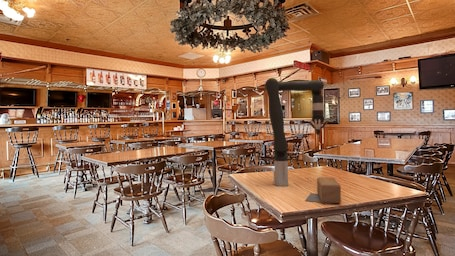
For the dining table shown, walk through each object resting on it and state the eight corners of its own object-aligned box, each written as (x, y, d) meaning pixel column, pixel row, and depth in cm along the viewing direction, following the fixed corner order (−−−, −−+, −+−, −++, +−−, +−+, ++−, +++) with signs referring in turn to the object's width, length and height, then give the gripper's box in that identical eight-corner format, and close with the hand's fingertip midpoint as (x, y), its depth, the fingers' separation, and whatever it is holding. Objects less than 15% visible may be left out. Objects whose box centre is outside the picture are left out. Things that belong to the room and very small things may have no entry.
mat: (305, 201, 149) (305, 200, 149) (310, 193, 164) (310, 192, 164) (332, 204, 143) (332, 203, 143) (335, 196, 158) (335, 195, 158)
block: (334, 193, 161) (341, 203, 142) (317, 193, 163) (321, 202, 144) (334, 177, 161) (340, 184, 142) (316, 176, 163) (321, 184, 144)
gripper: (307, 110, 186) (307, 134, 186) (327, 109, 180) (327, 134, 180) (309, 110, 192) (309, 134, 193) (328, 109, 186) (329, 134, 187)
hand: (318, 134), depth 186 cm, fingers closed
